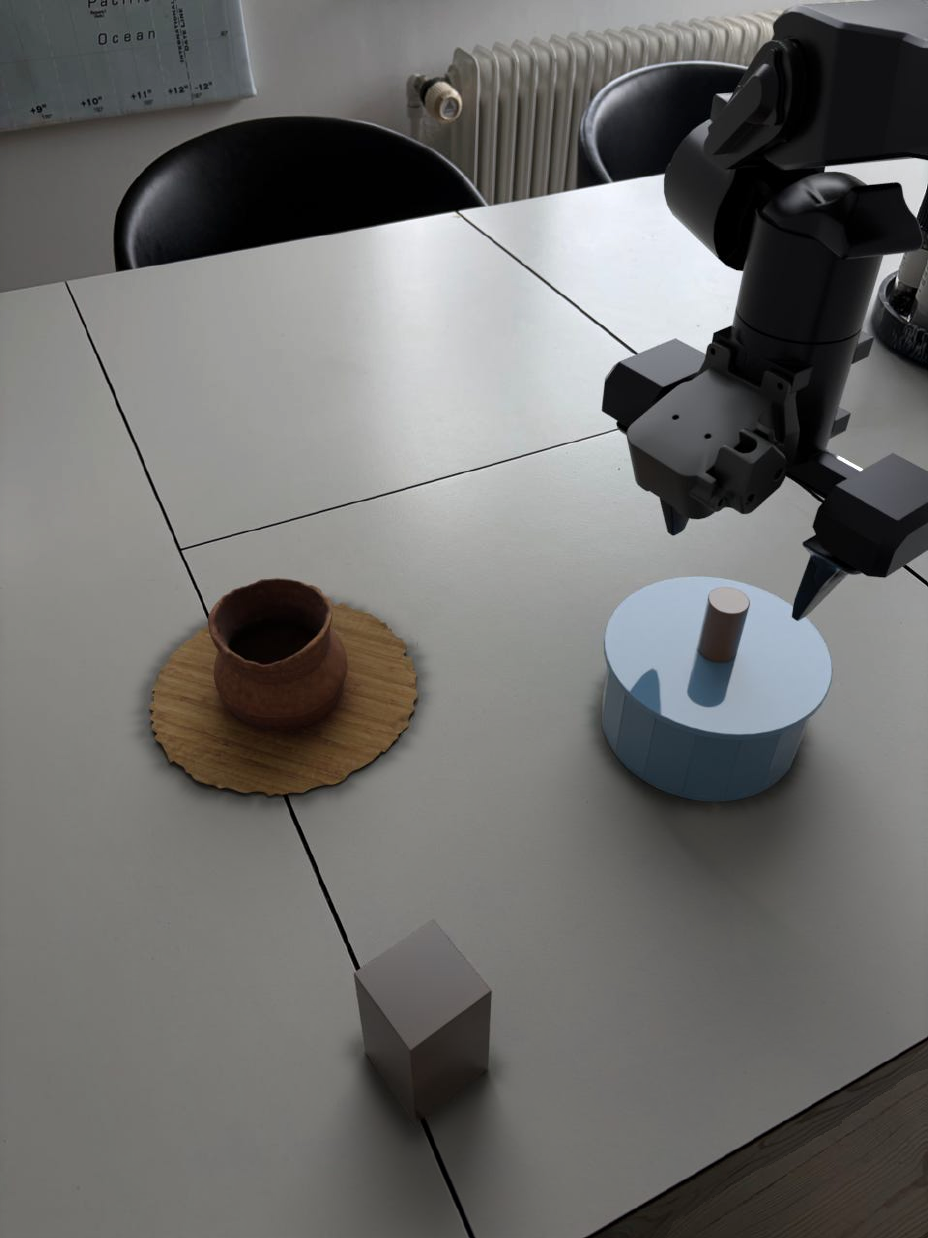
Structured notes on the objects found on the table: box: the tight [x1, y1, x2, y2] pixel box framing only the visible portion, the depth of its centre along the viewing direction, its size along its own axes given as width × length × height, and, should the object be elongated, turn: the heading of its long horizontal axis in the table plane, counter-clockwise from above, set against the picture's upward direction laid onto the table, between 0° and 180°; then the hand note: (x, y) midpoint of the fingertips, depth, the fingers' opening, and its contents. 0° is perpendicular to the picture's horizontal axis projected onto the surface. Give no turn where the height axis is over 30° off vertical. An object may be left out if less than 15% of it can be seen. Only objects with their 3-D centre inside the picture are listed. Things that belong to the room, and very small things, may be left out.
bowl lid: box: [603, 575, 834, 740], centre depth 60 cm, size 14×14×5 cm
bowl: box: [601, 665, 810, 803], centre depth 64 cm, size 13×13×6 cm
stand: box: [353, 919, 493, 1125], centre depth 47 cm, size 4×4×8 cm
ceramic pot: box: [148, 577, 419, 797], centre depth 65 cm, size 18×18×7 cm
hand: (735, 572), depth 57 cm, fingers open, 9 cm apart
